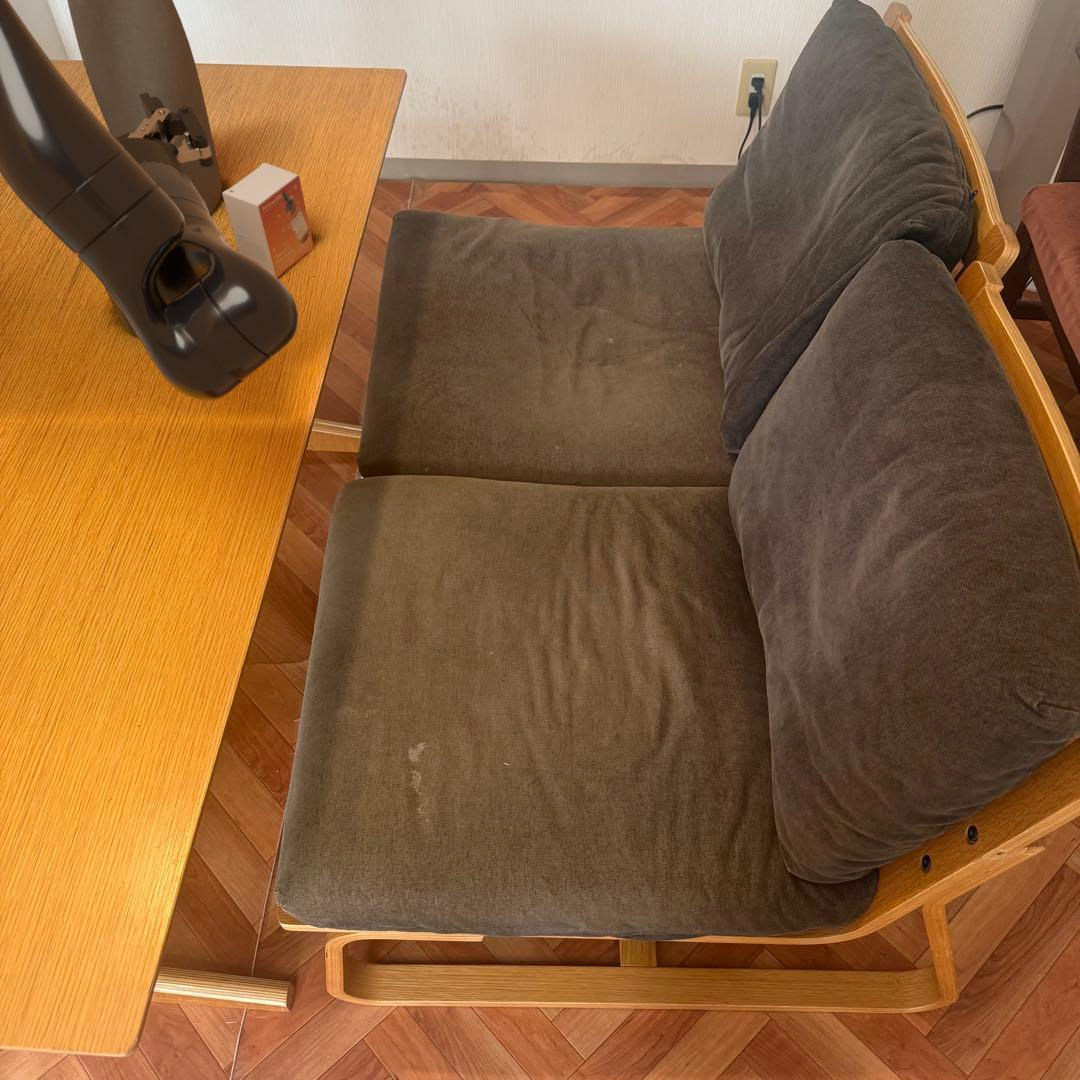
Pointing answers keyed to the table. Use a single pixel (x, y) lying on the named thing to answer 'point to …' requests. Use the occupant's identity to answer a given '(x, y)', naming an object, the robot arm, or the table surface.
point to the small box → (269, 218)
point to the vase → (143, 71)
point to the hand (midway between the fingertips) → (98, 115)
